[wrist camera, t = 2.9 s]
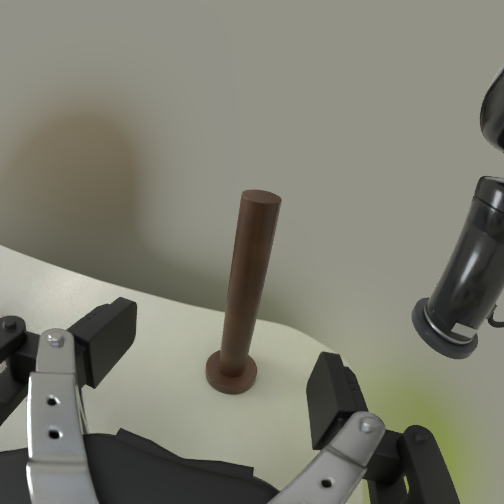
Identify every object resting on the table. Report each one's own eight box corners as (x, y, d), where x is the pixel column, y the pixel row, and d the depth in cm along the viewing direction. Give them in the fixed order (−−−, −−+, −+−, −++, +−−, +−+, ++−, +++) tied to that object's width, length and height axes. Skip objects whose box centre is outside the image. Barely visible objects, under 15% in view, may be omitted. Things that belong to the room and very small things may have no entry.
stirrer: (251, 355, 25) (290, 188, 17) (258, 393, 21) (312, 215, 13) (205, 354, 24) (220, 180, 16) (206, 394, 20) (222, 206, 13)
